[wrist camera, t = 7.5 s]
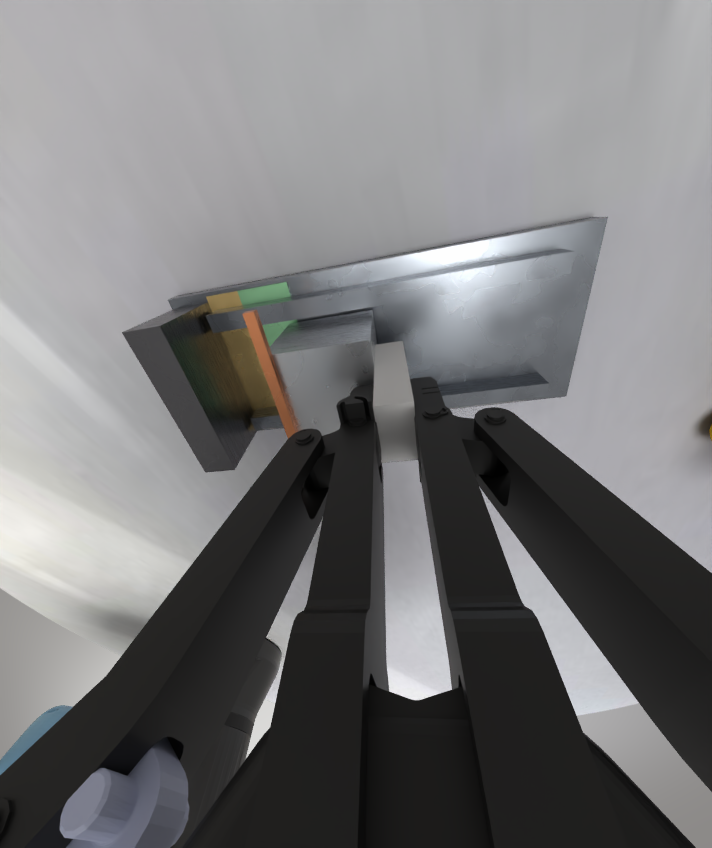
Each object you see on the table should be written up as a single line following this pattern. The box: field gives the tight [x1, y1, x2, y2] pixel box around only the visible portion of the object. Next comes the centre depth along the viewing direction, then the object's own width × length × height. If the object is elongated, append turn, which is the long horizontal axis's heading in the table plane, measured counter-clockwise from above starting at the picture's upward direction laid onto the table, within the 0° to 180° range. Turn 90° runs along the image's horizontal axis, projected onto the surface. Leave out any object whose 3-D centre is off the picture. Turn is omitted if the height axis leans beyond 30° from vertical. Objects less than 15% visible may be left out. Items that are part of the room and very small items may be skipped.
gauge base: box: [122, 217, 608, 472], centre depth 18 cm, size 24×10×6 cm, turn 100°
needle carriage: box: [242, 310, 377, 439], centre depth 17 cm, size 5×9×6 cm, turn 10°
